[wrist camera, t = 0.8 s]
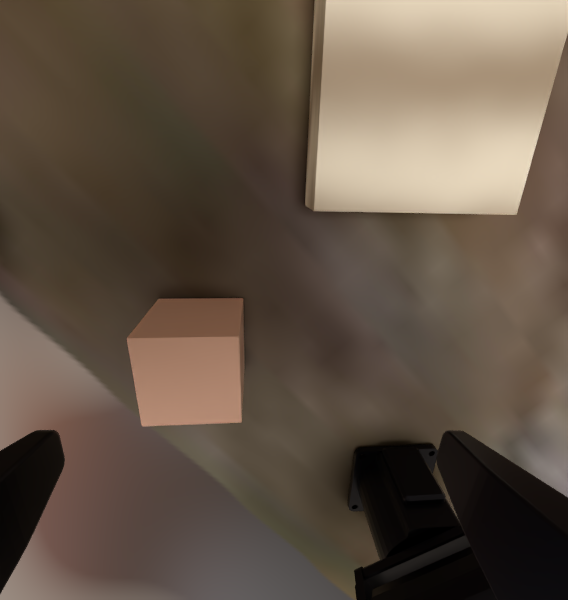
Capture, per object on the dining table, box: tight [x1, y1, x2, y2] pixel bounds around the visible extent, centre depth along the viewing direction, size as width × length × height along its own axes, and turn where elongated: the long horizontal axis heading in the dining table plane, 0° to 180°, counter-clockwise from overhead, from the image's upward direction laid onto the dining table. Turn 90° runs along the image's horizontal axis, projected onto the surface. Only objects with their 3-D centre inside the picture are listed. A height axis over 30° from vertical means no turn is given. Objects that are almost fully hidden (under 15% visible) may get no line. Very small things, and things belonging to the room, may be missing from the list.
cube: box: [127, 298, 245, 426], centre depth 18 cm, size 5×5×5 cm
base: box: [305, 0, 568, 215], centre depth 15 cm, size 10×10×3 cm
